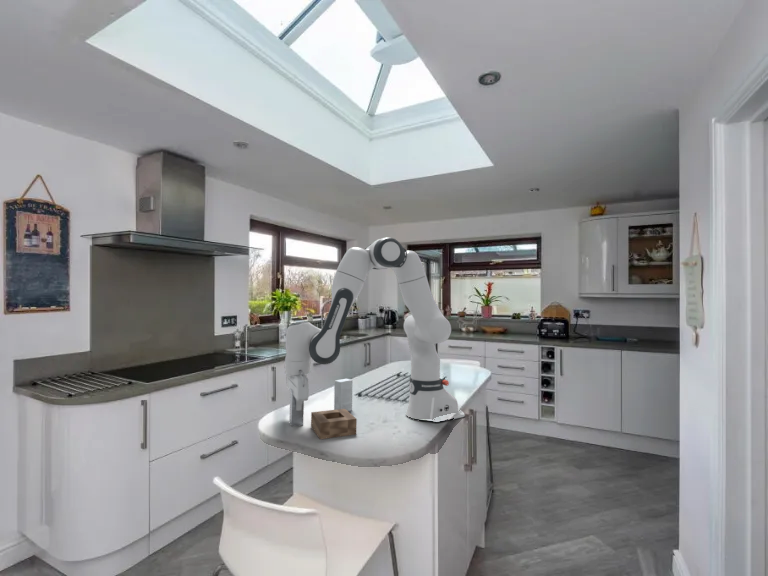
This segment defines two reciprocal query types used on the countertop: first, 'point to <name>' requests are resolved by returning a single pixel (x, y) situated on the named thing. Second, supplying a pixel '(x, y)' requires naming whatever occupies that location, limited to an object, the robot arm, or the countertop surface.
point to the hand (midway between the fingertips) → (296, 407)
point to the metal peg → (295, 411)
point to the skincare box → (343, 394)
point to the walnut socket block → (333, 423)
